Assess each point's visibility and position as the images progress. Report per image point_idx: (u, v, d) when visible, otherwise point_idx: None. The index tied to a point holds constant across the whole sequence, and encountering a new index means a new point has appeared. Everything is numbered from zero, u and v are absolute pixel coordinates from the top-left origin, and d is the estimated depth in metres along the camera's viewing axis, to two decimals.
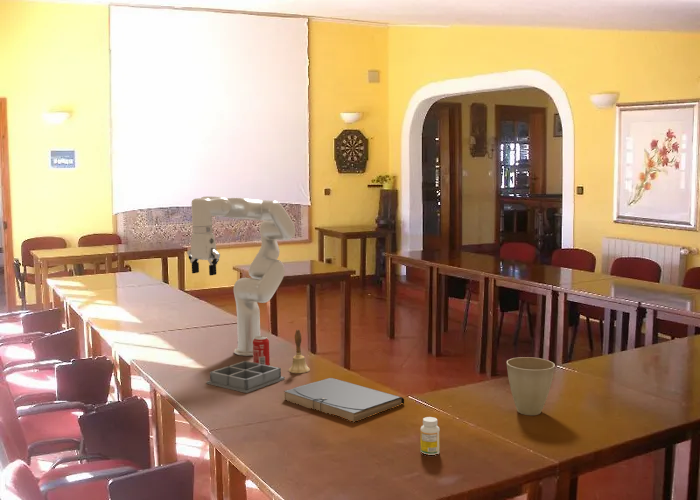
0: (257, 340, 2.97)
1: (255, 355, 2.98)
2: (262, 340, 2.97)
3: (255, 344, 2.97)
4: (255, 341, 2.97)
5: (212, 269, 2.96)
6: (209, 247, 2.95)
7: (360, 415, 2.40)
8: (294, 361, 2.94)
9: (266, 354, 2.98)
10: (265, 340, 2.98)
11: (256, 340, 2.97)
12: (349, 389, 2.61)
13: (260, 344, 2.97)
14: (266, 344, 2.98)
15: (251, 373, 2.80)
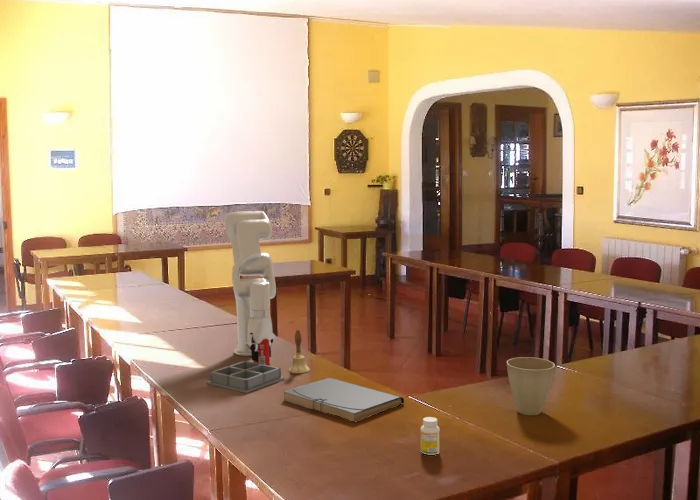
0: None
1: None
2: (262, 340, 2.97)
3: None
4: None
5: None
6: None
7: (360, 415, 2.40)
8: (294, 361, 2.94)
9: (266, 354, 2.98)
10: (265, 340, 2.98)
11: None
12: (348, 389, 2.61)
13: (260, 344, 2.97)
14: (266, 344, 2.98)
15: (251, 373, 2.80)
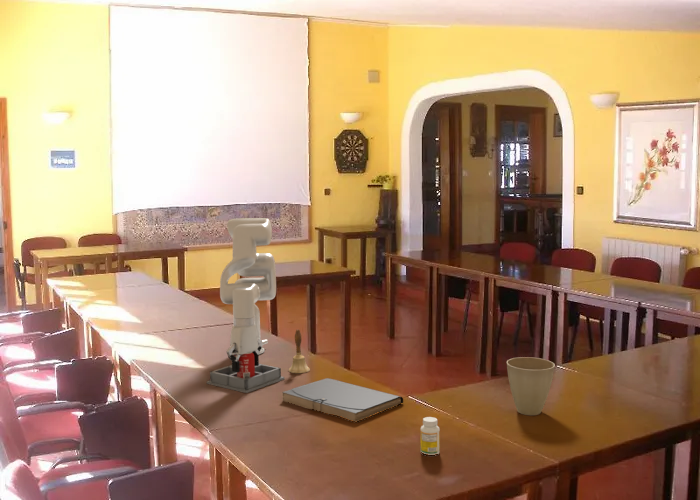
0: None
1: None
2: (247, 354, 2.73)
3: (239, 359, 2.73)
4: None
5: None
6: None
7: (361, 415, 2.40)
8: (294, 361, 2.94)
9: (251, 370, 2.74)
10: (250, 354, 2.73)
11: None
12: (347, 389, 2.61)
13: (244, 359, 2.72)
14: (251, 359, 2.73)
15: None
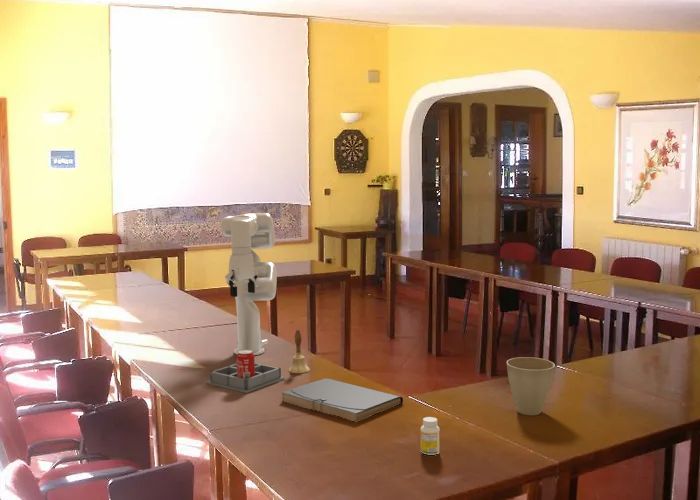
0: (241, 354, 2.73)
1: (239, 371, 2.74)
2: (247, 354, 2.73)
3: (239, 359, 2.73)
4: (239, 356, 2.73)
5: None
6: None
7: (362, 415, 2.40)
8: (294, 361, 2.94)
9: (251, 370, 2.74)
10: (250, 354, 2.73)
11: (240, 354, 2.73)
12: (347, 389, 2.61)
13: (244, 359, 2.72)
14: (251, 359, 2.73)
15: None
